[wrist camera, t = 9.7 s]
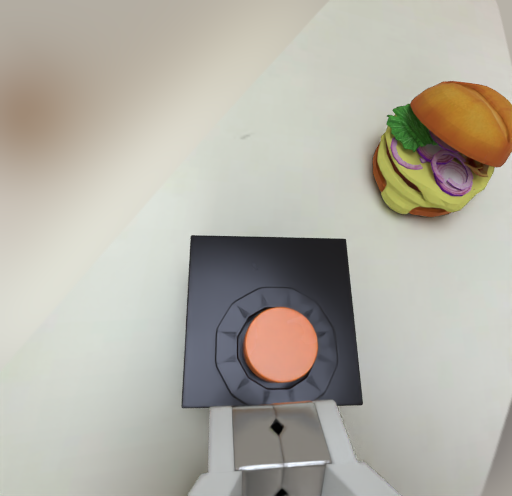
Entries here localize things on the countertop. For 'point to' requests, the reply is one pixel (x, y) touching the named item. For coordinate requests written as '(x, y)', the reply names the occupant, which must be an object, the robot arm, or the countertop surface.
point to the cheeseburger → (442, 148)
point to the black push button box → (258, 300)
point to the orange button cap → (280, 345)
